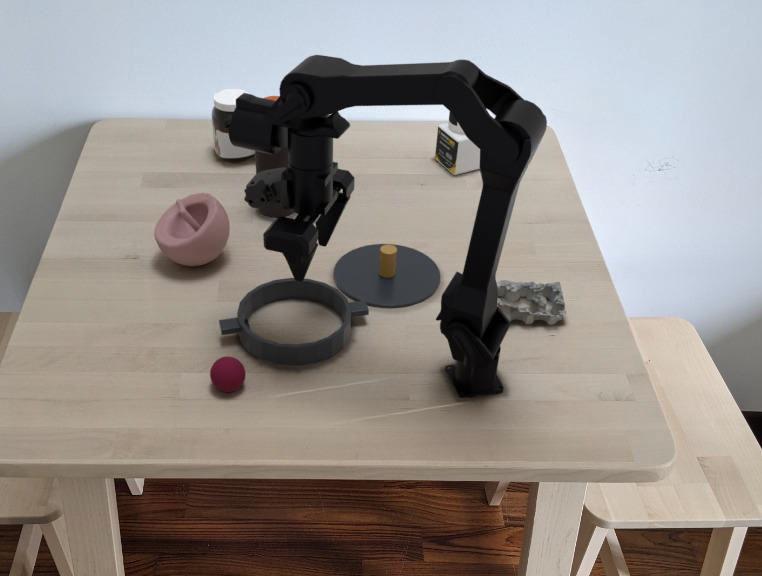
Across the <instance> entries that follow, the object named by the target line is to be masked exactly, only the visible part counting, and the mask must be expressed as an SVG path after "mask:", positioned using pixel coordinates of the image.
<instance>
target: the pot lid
mask: <svg viewBox="0 0 762 576" xmlns="http://www.w3.org/2000/svg"><path fill="white" fill-rule="evenodd" d="M333 279H334V283H335V284H336V286H337V289H338V290H339V291H340V292H341V293H342V294H343V295H344V296H346V297H348V298H350V299H351V300H354V302H356V301H365V302H366V305H367V306H371V307H377V308H384V309H385V308H386V309H390V308H391V309H393V308H395V309H396V308H404V307H410V306H414V305H417V304H419V303H422V302H423V301H425V300H427V299H429V298H430V297H432V295H434V294H435V293H436V292H437V290H438V288H439V286H440V284H441V271H440V269H439V267H438V265H437V264H436V262H435V261H434V260H433V258H431V257H429V256H428V255H427V254H425V253H423V252H421V251H419V250H417V249H415V248H412V247H409V246H406V245H401V244H400V245H399V244H394V243H374V244H367V245H363V246H360V247H357V248H353V249H352V250H350V251H348V252H346V253H345V254H343V255H342V256H341V257H340V258H339V259H338V261H336V263H335V265H334V269H333Z"/></svg>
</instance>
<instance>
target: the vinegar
mask: <svg viewBox="0 0 762 576" xmlns="http://www.w3.org/2000/svg"><path fill="white" fill-rule="evenodd" d="M279 96H280V95H268V96H264V98H265V99H269V100H274V101H276V100H277V99H278V98H279ZM254 157H255V159H254V160H255V175H256V174H257V173H259V172H261V171H265V170H270V169H276V168H282V167H286V168H287V167H288V145H287V146H286V147H285V148H283V149H282V148H281V150H280V151H279V152H278V153H277V154H275V155H272V154H267V153H263V152H258V151H255V156H254ZM257 211H258V212H259V214H260V215H262V216H264V217H267V218H272V219H277V218H278V217H279V216H281V217H286V218H288V217H290V216H291V215H293V214H294V213H295V212H294V211H293V209H290V210H284V209H280V203H278V204H273V205H267V206H265V207H261V208H257Z"/></svg>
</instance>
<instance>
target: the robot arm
mask: <svg viewBox="0 0 762 576" xmlns="http://www.w3.org/2000/svg"><path fill="white" fill-rule="evenodd" d="M278 91H279V95H278V96H279V98H278V99H277V100H276V101H274V100H269V99H265V97H259V96H256V95H254V94H252V93H249V94H247V93H243V94H242V95H240V96H239V97H238V98H237V99H236V108H235V110H234V112H233V115H232V118H231V123H230V127H229V129H228V133H229V139H230V142H231V143H232V145H234V146H236V147H241V148H245V149H249V150H254V151H258V152H263V153H267V154H272V155H275V154H277V153H278V152H279V151H280V150H281V148H282V149H283V148H285V147H286V146H287V145H288V167H287V168H286V167H282V168H276V169H270V170H265V171H261V172H259V173H257V174H256V173H255V174H254V176H253V177H252V178H251V179H250V180H249V181H248V183H247V184H246V185H245V189H244V190H243V192H244V194H245V196H244V198H243V199H244V201H245V202H246V203H247V204H248V206H249V207H250V208H252V209H258V208H261V207H265V206H267V205H273V204H278V203H280V209H284V210H290V209H293V211H294V213H295V214H297V215H296V217H294V218H292V217H291V218H290V217H281V216H279V217H278V218H274V220H273V221H272V222H271V223H270V225H269V226H268V227H267V229H266V230H265V231H264V232H263V234H262V237H263V238H262V239H263V247H264V249H265V250H266V251H272V252H276V253H281V254H282V255H283V257H284V259H285V261H286V263H287V265H288V267H289V270H290V272H291V274H292V278H294V279H295V280H296V281H299V282H302V281H303V280H304V278H305V279H306V275H307V273H308V271H309V268H310V266H311V263H312V261H313V258H314V256H315V254H316V252H317V249H318V247H319V246H320V247H325V248H326V247H327V246H328V244H329V241H330V240H331V238H332V236H333V233H334V232H335V229H336V227H337V225H338V223H339V221H340V219H341V217H342V215H343V213H344V211H345V209H346V207H347V205H348V203H349V201H350V199H351V197H352V196H351V195H352V193H353V192H354V190H355V179H356V178H355V176H354V175H353V174H352V173H351V172H350V170H347V169H341V168H339V163H338V162H336V161H334V140H335V139H336V140H337V139H340V138H341V137H342V136H343V134H345V132H346V131H348V129H349V128H350V127H351V123H350V122H349V121H348V120H347V119H346V118H345V117H344V116H342V115H341V114H340V111H342V110H345V109H350V108H354V107H390V106H391V107H392V106H393V107H396V106H397V107H398V106H444V108H446V109H447V110H448V111H449V113H450V112H451V113H452V114H453V115H454V117H455V119H456V120H457V122H458V123H459V125H460V127H461V128H462V130H463V132H464V133H465V135H466V136H467V138H468V139H469V140H470V141H471V142H473V143H474V144H475V145H476V146H477V147H478V148H479V149H480V169H479V172H480V177H481V181H482V188H481V192H480V196H479V200H478V205H477V209H476V214H475V219H474V223H473V227H472V231H471V236H470V240H469V244H468V248H467V252H466V257H465V261H464V266H463V270H462V272H459V271H456V272H455V273H454V275H452V278H451V280H450V282H449V283H448V284H447V286H446V288H445V290H444V291H443V293H442V294H441V298H440V311H439V313H438V314H437V316H436V318H435V320H436V321H439V330H440V333H441V335H443V336H444V337H445V338H446V340H447V343H448V346H449V351H450V354H451V357H452V360H453V361H454V364H447V365H445V367H444V372H445V374H446V375H447V377H448V379H449V381H450V383H451V385H452V386H453V389H454V391H455V393H456V394H457V396H458V398H460V399H464V398H465V399H466V398H473V397H479V396H486V395H492V394H500V393H503V392H504V390H505V387H504V385H503V383H502V382H501V380H500V377H499V376H498V375H497V372H498V367H499V362H500V356H501V355H500V354H501V349H502V347H501V344H502V343H503V341H504V339H505V337H506V336H507V333H508V331H509V329H510V327H511V325H512V322H511V321H509V320H508V318H507V317H506V316H505V315H504V313H503V312H502V311H501V310H500V308H499V307H498V306H497V299H498V298H499V297H498V287H497V279H496V277H497V272H498V266H499V264H500V260H501V255H502V252H503V248H504V245H505V240H506V237H507V233H508V230H509V226H510V221H511V218H512V214H513V210H514V206H515V203H516V199H517V195H518V192H519V188H520V185H521V182H522V180H523V178H524V175H525V174H526V172H527V170H528V168H529V165H530V164H531V162H532V160H533V158H534V156H535V154H536V152H537V150H538V148H539V146H540V145H541V142H542V140H543V137H544V136H545V133H546V131H547V127H548V120H547V116H546V115H545V114H544V112H543V110H542V109H541V108H540V107H539V106H538V105H537V104H536V103H534V102H532V101H530V100H527V99H524V98H523V97H522V96H521V95H520V94H519V93H518V92H517V91H516V90H515V89H513V88H512V87H511V86H510V85H508V84H507V83H504V82H502V81H500V80H499V79H496V78H494V77H492V76H490V75H488V74H486V72H484V71H483V70H482V69H481V68H479V66H477V65H476V64H475V63H474V62H472V61H471V60H469V59H456V60H453V61H445V62H443V61H442V62H418V63H416V62H415V63H392V64H366V65H365V64H364V65H362V64H355V63H352V62H350V61H348V60H346V59H343V58H342V57H335V56H329V55H323V54H314V55H310V56H307V57H306V58H305V59H304V60H303V61H301V62H300V63H299V64H298V65H296V66H295V67H294V68H293V69H292V70H290V71H289V72H288V73H287V74H286V75H284V77H283V78H282V80H281V81H280V84H279V89H278ZM489 111H490V112H491V113H492V114H493V115H494V116H495V117H493V116H492V115H491V114H490V113H489Z"/></svg>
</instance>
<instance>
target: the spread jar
mask: <svg viewBox="0 0 762 576" xmlns="http://www.w3.org/2000/svg"><path fill="white" fill-rule="evenodd" d="M243 93H247V94H250V93H249V92H248V91H246V90H243V89H239V88H228V89H227V88H226V89H222V90H220V91H217V92H216V93H214V95H213V107H212V109H211V125H212V136H213V137H212V138H213V144H214V145H213V146H214V151H215V154H216V157H217V158H218V159H219V160H220V161H222V162H225V163H230V164H239V163H245V162H247V161H249V160H251V159H253V158H254V157H255V151H254V150H249V149H245V148H241V147H236V146H234V145H232V143H231V142H230V139H229V133H228V129H229V127H230V123H231V118H232V115H233V112H234V110H235V108H236V99H237V98H238V97H239V96H240V95H242V94H243Z"/></svg>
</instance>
